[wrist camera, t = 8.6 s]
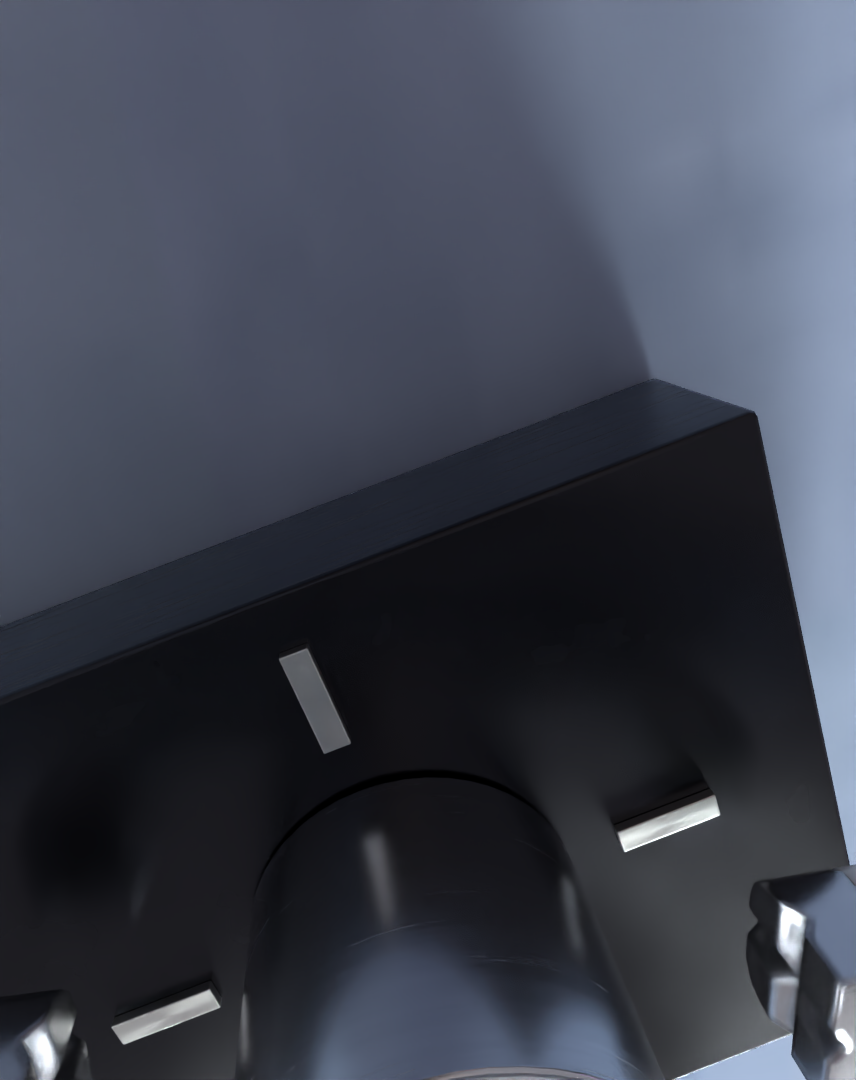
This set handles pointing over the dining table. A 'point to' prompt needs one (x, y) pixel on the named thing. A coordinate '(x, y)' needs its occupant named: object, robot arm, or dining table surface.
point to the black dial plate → (428, 722)
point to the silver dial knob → (432, 948)
